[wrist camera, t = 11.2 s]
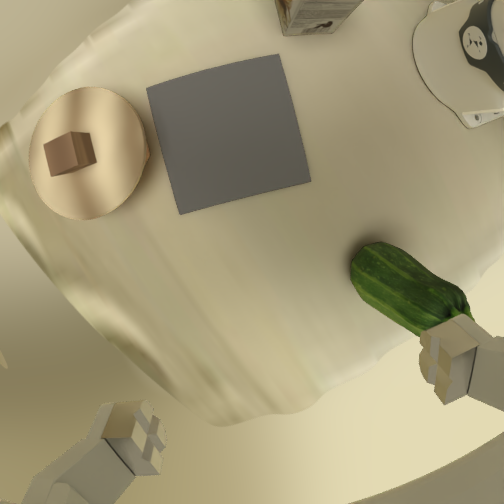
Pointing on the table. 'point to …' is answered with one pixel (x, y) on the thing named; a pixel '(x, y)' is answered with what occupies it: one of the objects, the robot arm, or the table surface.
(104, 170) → the lid
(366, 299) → the vegetable
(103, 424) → the robot arm
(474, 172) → the table surface
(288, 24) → the coffee box
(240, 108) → the mat
